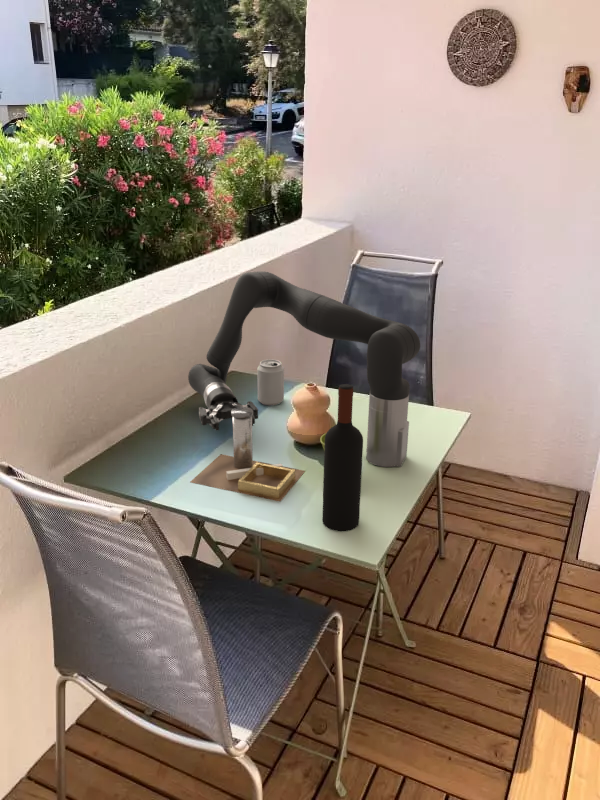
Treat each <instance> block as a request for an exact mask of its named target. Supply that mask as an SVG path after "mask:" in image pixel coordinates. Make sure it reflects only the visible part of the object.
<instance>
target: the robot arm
mask: <svg viewBox="0 0 600 800" xmlns="http://www.w3.org/2000/svg"><path fill="white" fill-rule="evenodd" d="M228 302H229V303H228V304H227V308H226V310H225V313H224V317H223V319H222V322H221V325H220V328H219V330H218V332H217V333H216V336H215V337H214V339H213V342H212V343H211V346H210V347H209V349H208V350H207V353H206V361H207V362H208V363H209V365H208V364H207V365H206V364H202V363H196V364H195V365H193V366H192V367H191V368H190V370H189V371H188V375H187V377H188V384H189V386H190V387H191V388H192V389H193V391H195V392H196V393H197V394H199V395H201V396H202V397H203V399H204V403H205V406H206V407H207V409H206V408H204V406H199V407H198V417H199V420H200V423H201V425H202V426H207V425H208V424H209V426H210V427H211V428H212V429H213V430H215V431H219V430H220V426H219V425H220V422H221V421H223V420H229V419H232V420H233V417H232V416H231V410H232V409H234V408H237V407H248V408H251V409H252V410H253V416H252V427H253V426H254V425H256V420H258V419H259V408H258V406H256V405H255V404H254V402H252V401H251V400H250V401H247V404H242V403H239V401H238V399H237V397H236V395H235V394H234V393H233V391H232V389H231V388H230V386H228V385H227V378H228V374H229V369H230V367H231V364H232V362H233V360H234V358H235V356H236V354H237V353H238V352H239V349H240V347H241V344H242V339H243V326H244V323H245V321H246V318H247V317H248V316H249V314H250V313H251V312H252V311H253V309H259V308H273V309H277V310H279V311H282V312H286V313H287V314H290V316H292V317H293V318H294V319H295V320H296V321H297V323H298V324H300V326H302V328H304V329H306V330H308V331H310V332H312V333H315V334H317V335H319V336H321V337H325V338H328V339H332V340H338V341H346V342H355V343H356V342H357V343H363V344H365V345H367V349H366V379H367V383H368V385H369V399H368V417H367V435H366V436H367V437H366V454H365V455H366V456H365V459H366V461H368V463H370V464H372V465H375V466H377V467H383V468H392V467H393V468H394V467H398V468H401V467H402V465H403V463H404V462H405V461H406V458H407V455H408V442H409V428H410V427H409V426H410V421H408V415H409V414H408V413H409V412H408V411H409V403H410V402H409V401H410V400H409V399H410V389H411V388H410V383H409V381H408V380H407V379H406V378H403V365H404V364H405V363H408V362H409V361H412V360H413V359H414V358H415V357H416V356H417V355H418V353H419V352H420V349H421V341H420V338H419V336H418V334H417V332H416V331H415V330H414V329H413V328H412V327H410V326H409V325H407V324H404V323H401V322H398V321H394V320H389V319H386V318H383V317H378V316H376V315H373V314H370V313H368V312H365V311H362V310H361V309H358V308H356V307H353V306H350V305H349V304H345V303H342V302H341V301H338V300H337V299H333V298H332V297H328V296H326V295H323V294H321V293H317V292H315V291H312V290H310V289H306V288H302V287H300V286H297V285H294V284H293V283H291V282H289V281H287V280H285V279H284V278H281V277H280V276H278V275H277V274H274V273H272V272H270V271H248V272H246V273H245V272H244V273H242V274H241V275H240V276H239V277H238V279H237V281H236V282H235V284H234V287H233V289H232V293H231V296H230V299H229V301H228ZM210 365H211V366H210Z"/></svg>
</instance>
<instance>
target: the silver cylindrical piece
mask: <svg viewBox="0 0 600 800" xmlns="http://www.w3.org/2000/svg"><path fill="white" fill-rule="evenodd" d="M231 416H232V417H233V419H232V438H233V439H232V443H233V445H232V446H233V457H234V467H235V468H237V469H246V468H251V467H252V466H253V461H254V460H253V455H254V454H253V426H252V416H253V410H252V409H251V408H248V407H237V408H234V409H232V410H231Z"/></svg>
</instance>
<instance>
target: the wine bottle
mask: <svg viewBox="0 0 600 800" xmlns="http://www.w3.org/2000/svg"><path fill="white" fill-rule="evenodd" d="M337 391H338V392H337V395H338V396H337V398H338V400H337V406H338V407H337V421H336V424H335V425H334V426H332V427H330V428H329V429H328V431H327V432H325V433H326V435H325V446H324V448H323V453H324V455H323V459H324V460H323V482H322V483H323V485H322V487H323V488H322V492H323V493H322V519H321V521H322V524H323V525H324V526H325V528H326V529H329V530H332V531H334V532H342V533H343V532H348V531H352V530H355V529H356V528H358V526H359V523H360V510H361V508H360V507H361V493H362V492H361V490H362V489H361V488H362V474H363V473H362V470H363V469H362V468H363V453H364V452H363V451H364V449H363V448H364V437H363V434H362V432H361V431H360V430H359V429H358V428H357V427H355V425H353V422H352V421H353V399H354V398H353V397H354V386H353V385H352V384H348V383H343V384H342V383H341V384H339V385H338V390H337Z"/></svg>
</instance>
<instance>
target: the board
mask: <svg viewBox="0 0 600 800" xmlns="http://www.w3.org/2000/svg"><path fill="white" fill-rule="evenodd" d="M256 462H258V463H263V464H268V465H274V464H273V463H267V462H262V461H258V460H253V465H254V464H255V463H256ZM283 468H288V469H293V470H295V480H294V481H293V483H292V484H291V485H290V486H289V487H288V489H287V490H286V491H285V492H284V493H283V495H282V496H281V497H280V498H279V499H275V498H270V497H265V496H261V495H256V494H251V493H247V492H242V491H238V481H239V480H240V479H241V478H238V479H231V480H228V479H227V475H226V471H232V470H239V469H237V468H235V467H234V455H227V454H219V455H218V456H216V458H215V459H214V460H212V461H211V462H210V463H209V464H208V465H207V466H206V467H205V468H204V469H203V470H202V471H200V472H199V473H198V474H197V475H196V476H194V478H193V479H192V480H190V481H189V482H190V483H193V484H196V485H202V486H205V487H211V488H215V489H220V490H223V491H229V492H233V493H238V494H244V495H247V496H252V497H255V498H257V497H258V498H261V499H266V500H271V501H276V502H278V503H279V502H282V500H283V499H284V498H285V496H286V495H287V494H288V493H289V492H290V491H291V490H292V488H293V487H294V486H295V485H296V483H297V482H298V481H299V480H300V479H301V478H302V476H303V475H304V474H305V472H306V470H303V469H297V468H293V467H288V466H284V465H283ZM282 480H283V479H282V478H277V477H272V476H267V475H259V476H256V477H255V478H254V479H253V480H252V481H251V482H254V483H259V484H264V485H269V486H273V487H277V486H278V485H279V484H280V483H281V481H282Z"/></svg>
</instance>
